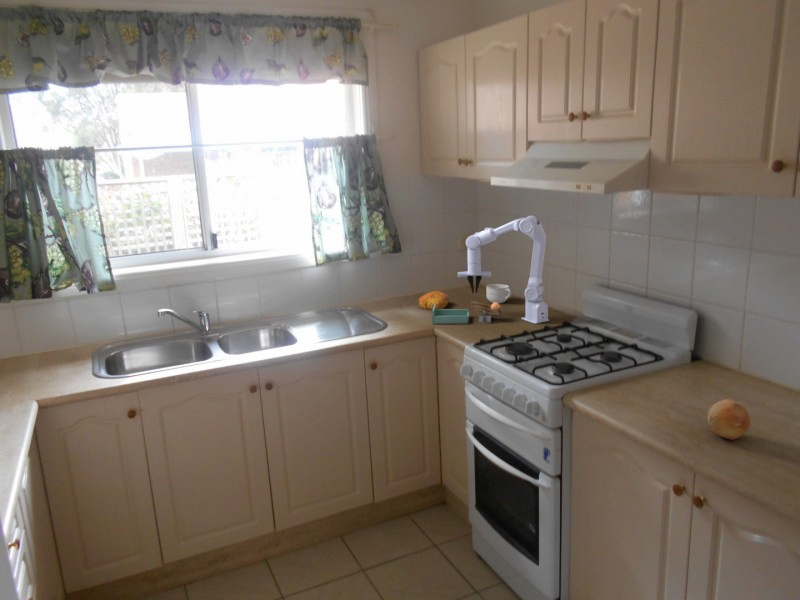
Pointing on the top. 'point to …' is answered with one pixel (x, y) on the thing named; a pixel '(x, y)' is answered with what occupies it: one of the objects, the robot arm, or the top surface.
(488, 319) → the launcher stand
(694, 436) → the top surface
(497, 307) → the ball
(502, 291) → the teacup
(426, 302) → the croissant
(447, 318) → the tray
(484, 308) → the chute
